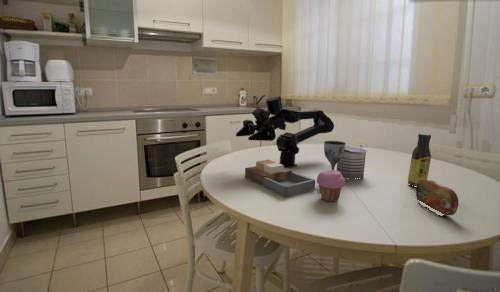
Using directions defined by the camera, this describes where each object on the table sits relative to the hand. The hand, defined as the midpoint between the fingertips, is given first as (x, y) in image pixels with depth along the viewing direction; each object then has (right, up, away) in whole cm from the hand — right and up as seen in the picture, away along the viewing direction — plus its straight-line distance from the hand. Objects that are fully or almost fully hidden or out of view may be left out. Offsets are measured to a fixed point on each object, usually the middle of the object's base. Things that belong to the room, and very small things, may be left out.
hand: (242, 137), depth 119 cm
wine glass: (+36, -17, -2) cm, 40 cm away
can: (+45, -16, +4) cm, 48 cm away
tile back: (+9, -12, -2) cm, 16 cm away
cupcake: (+29, -21, -22) cm, 42 cm away
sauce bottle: (+66, -19, -7) cm, 69 cm away
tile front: (+12, -13, -6) cm, 19 cm away
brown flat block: (+10, -17, -3) cm, 20 cm away
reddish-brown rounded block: (+59, -23, -29) cm, 70 cm away
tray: (+17, -19, -12) cm, 28 cm away
